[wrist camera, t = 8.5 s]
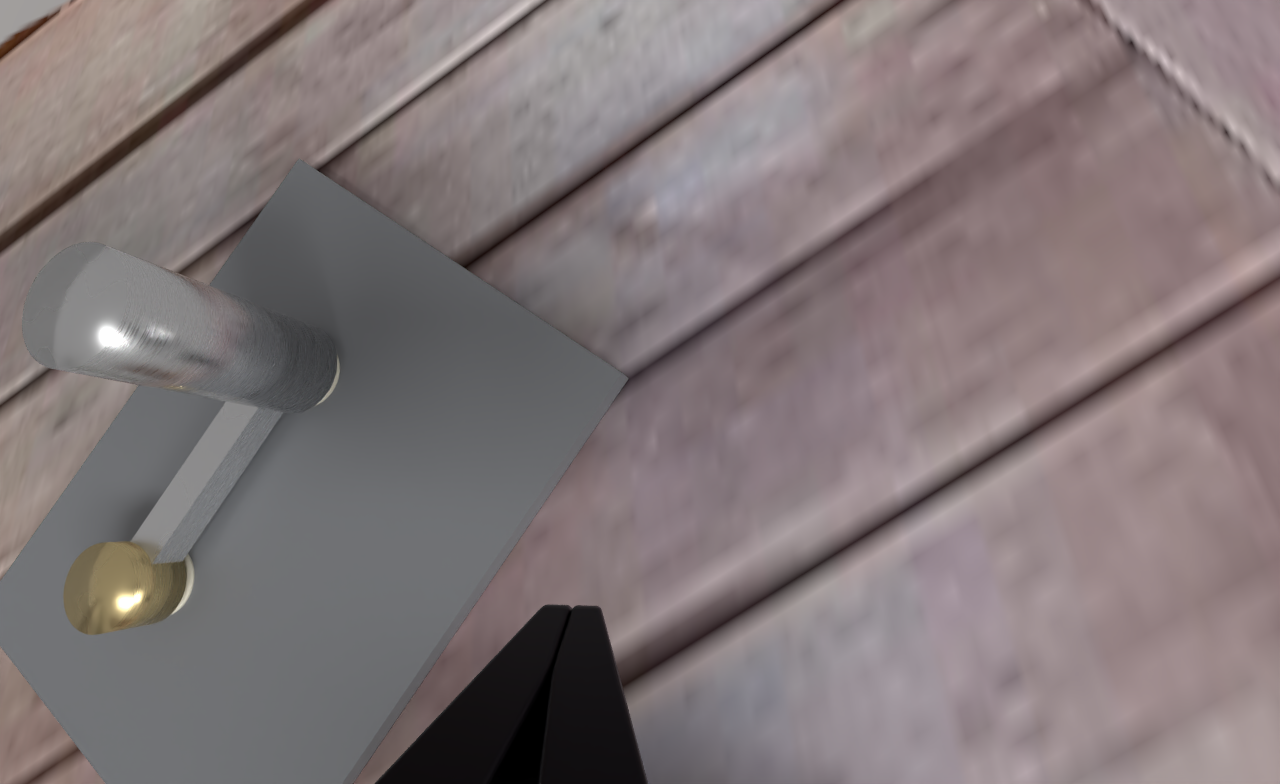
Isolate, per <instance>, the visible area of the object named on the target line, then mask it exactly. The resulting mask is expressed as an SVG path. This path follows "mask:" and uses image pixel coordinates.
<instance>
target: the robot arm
mask: <svg viewBox="0 0 1280 784" xmlns="http://www.w3.org/2000/svg"><path fill="white" fill-rule="evenodd" d="M375 784H648V781H647V777H646V774H645V770H644V766H643V763H642V759H641V755H640V751H639V748H638V744H637V740H636V736H635V733H634V729H633V725H632V721H631V718H630V714H629V710H628V706H627V703H626V699H625V695H624V691H623V688H622V684H621V680H620V677H619V673H618V669H617V665H616V662H615V658H614V654H613V650H612V647H611V643H610V639H609V635H608V632H607V628H606V624H605V620H604V617H603V613H602V610H601V608H600V607H599V606H581V605H577V606H575V607H574V608H573V609H572V608H571V607H570V606H569V605H545V606H543V607H542V608H541V609H540V610H539V611H538V612H537V613H536V614H535V615H534V616H533V617H532V618H531V619H530V620H529V621H528V622H527V623H526V624H525V625H524V627H523V628H522V629H521V630H520V631H519V632H518V633H517V634H516V635H515V636H514V637H513V638H512V639H511V640H510V641H509V642H508V643H507V644H506V646H505V647H504V648H503V649H502V650H501V651H500V652H499V653H498V654H497V655H496V656H495V657H494V658H493V659H492V660H491V661H490V662H489V663H488V665H487V666H486V667H485V668H484V669H483V670H482V671H481V672H480V673H479V674H478V675H477V676H476V677H475V678H474V679H473V680H472V681H471V682H470V684H469V685H468V686H467V687H466V688H465V689H464V690H463V691H462V692H461V693H460V694H459V695H458V696H457V697H456V698H455V699H454V700H453V701H452V703H451V704H450V705H449V706H448V707H447V708H446V709H445V710H444V711H443V712H442V713H441V714H440V715H439V716H438V717H437V718H436V719H435V720H434V722H433V723H432V724H431V725H430V726H429V727H428V728H427V729H426V730H425V731H424V732H423V733H422V734H421V735H420V736H419V737H418V738H417V739H416V741H415V742H414V743H413V744H412V745H411V746H410V747H409V748H408V749H407V750H406V751H405V752H404V753H403V754H402V755H401V756H400V757H399V758H398V760H397V761H396V762H395V763H394V764H393V765H392V766H391V767H390V768H389V769H388V770H387V771H386V772H385V773H384V774H383V775H382V776H381V777H380V779H379V780H378V781H377V782H376V783H375Z"/></svg>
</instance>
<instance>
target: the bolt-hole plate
mask: <svg viewBox="0 0 1280 784" xmlns="http://www.w3.org/2000/svg"><path fill="white" fill-rule="evenodd" d="M209 286H212V287H214V288H217V289H220V290H222V291H225V292H227V293H230V294H233V295H235V296H238V297H240V298H243V299H245V300H248V301H251V302H253V303H256V304H258V305H261V306H263V307H266V308H269V309H271V310H274V311H276V312H279V313H282V314H284V315H287V316H289V317H292V318H294V319H297V320H300V321H302V322H305V323H307V324H310V325H312V326H315V327H317V328H320V329H321V330H323V331H324V332H325V333H326V334H327V335H328V336H329V337H330V338H331V340H332V342H333V344H334V346H335V349H336V352H337V371H336V375H335V378H334V381H333V384H332V386H331V388H330V389H329V391H328V393H327V394H326V395H325V397H324V398H323V399H322V400H321V401H320V402H319V403H317V404H316V405H315V406H313V407H312V408H310V409H308V410H306V411H303V412H300V413H283V414H282V415H281V417H280V418H279V420H278V421H277V423H276V424H275V426H274V427H273V429H272V430H271V432H270V433H269V435H268V436H267V437H266V439H265V440H264V442H263V443H262V445H261V446H260V448H259V449H258V451H257V452H256V454H255V455H254V457H253V458H252V460H251V461H250V463H249V464H248V465H247V467H246V468H245V470H244V471H243V473H242V474H241V476H240V477H239V479H238V480H237V482H236V483H235V485H234V486H233V488H232V489H231V491H230V492H229V493H228V495H227V496H226V498H225V499H224V501H223V502H222V504H221V505H220V507H219V508H218V510H217V511H216V513H215V514H214V516H213V517H212V519H211V520H210V521H209V523H208V524H207V526H206V527H205V529H204V530H203V532H202V533H201V535H200V536H199V538H198V539H197V541H196V542H195V544H194V545H193V547H192V548H191V549H190V551H189V552H188V554H187V555H186V557H185V558H184V561H185V564H186V569H187V581H186V587H185V591H184V594H183V597H182V599H181V601H180V603H179V605H178V606H177V608H176V609H175V610H174V612H173V613H172V614H171V615H170V616H169V617H167V618H166V619H164V620H163V621H161V622H159V623H155V624H151V625H146V626H140V627H135V628H130V629H124V630H119V631H114V632H108V633H103V634H98V635H88V634H84V633H82V632H80V631H78V630H77V629H76V628H75V627H74V626H73V625H72V624H71V623H70V621H69V619H68V617H67V615H66V612H65V608H64V601H63V593H64V585H65V581H66V577H67V575H68V572H69V570H70V568H71V566H72V564H73V563H74V561H75V560H76V559H77V557H78V556H79V555H80V554H81V553H82V552H83V551H84V550H86V549H87V548H89V547H90V546H92V545H94V544H98V543H103V542H121V541H131V540H132V538H133V537H134V536H135V534H136V533H137V531H138V530H139V528H140V527H141V525H142V524H143V522H144V521H145V519H146V518H147V516H148V515H149V514H150V512H151V511H152V509H153V508H154V506H155V505H156V503H157V502H158V500H159V499H160V497H161V496H162V495H163V493H164V492H165V490H166V489H167V487H168V486H169V484H170V483H171V481H172V480H173V478H174V477H175V475H176V474H177V473H178V471H179V470H180V468H181V467H182V465H183V464H184V462H185V461H186V459H187V458H188V456H189V455H190V453H191V452H192V451H193V449H194V448H195V446H196V445H197V443H198V442H199V440H200V439H201V437H202V436H203V434H204V433H205V432H206V430H207V429H208V427H209V426H210V424H211V423H212V421H213V420H214V418H215V417H216V415H217V414H218V412H219V411H220V410H221V408H222V407H223V405H224V404H225V401H220V400H215V399H210V398H204V397H199V396H194V395H188V394H183V393H178V392H173V391H167V390H162V389H157V388H152V387H146V386H141V385H139V386H138V387H137V389H136V390H135V391H134V393H133V394H132V396H131V397H130V398H129V400H128V401H127V403H126V404H125V406H124V407H123V408H122V410H121V411H120V413H119V414H118V415H117V417H116V418H115V420H114V421H113V423H112V424H111V425H110V427H109V428H108V430H107V431H106V432H105V434H104V435H103V437H102V438H101V440H100V441H99V442H98V444H97V445H96V447H95V448H94V449H93V451H92V452H91V454H90V455H89V457H88V458H87V459H86V461H85V462H84V464H83V465H82V466H81V468H80V469H79V471H78V472H77V474H76V475H75V476H74V478H73V479H72V481H71V482H70V483H69V485H68V486H67V488H66V489H65V491H64V492H63V493H62V495H61V496H60V498H59V499H58V500H57V502H56V503H55V505H54V506H53V508H52V509H51V510H50V512H49V513H48V515H47V516H46V517H45V519H44V520H43V522H42V523H41V525H40V526H39V527H38V529H37V530H36V532H35V533H34V534H33V536H32V537H31V539H30V540H29V542H28V543H27V544H26V546H25V547H24V549H23V550H22V551H21V553H20V554H19V556H18V557H17V558H16V560H15V561H14V563H13V564H12V566H11V567H10V568H9V570H8V571H7V573H6V574H5V575H4V577H3V578H2V580H1V581H0V646H1V648H2V649H3V650H4V652H5V653H6V654H7V655H8V657H9V658H10V659H11V661H12V662H13V663H14V665H15V666H16V667H17V668H18V670H19V671H20V672H21V674H22V675H23V676H24V678H25V679H26V680H27V682H28V683H29V684H30V685H31V687H32V688H33V689H34V691H35V692H36V693H37V695H38V696H39V697H40V699H41V700H42V701H43V702H44V704H45V705H46V706H47V708H48V709H49V710H50V712H51V713H52V714H53V715H54V717H55V718H56V719H57V721H58V722H59V723H60V725H61V726H62V727H63V729H64V730H65V731H66V732H67V734H68V735H69V736H70V738H71V739H72V740H73V742H74V743H75V744H76V745H77V747H78V748H79V749H80V751H81V752H82V753H83V755H84V756H85V757H86V759H87V760H88V761H89V762H90V764H91V765H92V766H93V768H94V769H95V770H96V772H97V773H98V774H99V776H100V777H101V778H102V779H103V781H104V782H105V783H106V784H353V783H354V781H355V780H356V778H357V777H358V776H359V774H360V773H361V771H362V770H363V768H364V767H365V765H366V764H367V762H368V761H369V759H370V758H371V756H372V755H373V753H374V752H375V751H376V749H377V748H378V746H379V745H380V743H381V742H382V740H383V739H384V737H385V736H386V734H387V733H388V731H389V730H390V728H391V727H392V726H393V724H394V723H395V721H396V720H397V718H398V717H399V715H400V714H401V712H402V711H403V709H404V708H405V706H406V705H407V704H408V702H409V701H410V699H411V698H412V696H413V695H414V693H415V692H416V690H417V689H418V687H419V686H420V684H421V683H422V681H423V680H424V679H425V677H426V676H427V674H428V673H429V671H430V670H431V668H432V667H433V665H434V664H435V662H436V661H437V659H438V658H439V656H440V655H441V654H442V652H443V651H444V649H445V648H446V646H447V645H448V643H449V642H450V640H451V639H452V637H453V636H454V634H455V633H456V632H457V630H458V629H459V627H460V626H461V624H462V623H463V621H464V620H465V618H466V617H467V615H468V614H469V612H470V611H471V609H472V608H473V607H474V605H475V604H476V602H477V601H478V599H479V598H480V596H481V595H482V593H483V592H484V590H485V589H486V587H487V586H488V584H489V583H490V582H491V580H492V579H493V577H494V576H495V574H496V573H497V571H498V570H499V568H500V567H501V565H502V564H503V562H504V561H505V560H506V558H507V557H508V555H509V554H510V552H511V551H512V549H513V548H514V546H515V545H516V543H517V542H518V540H519V539H520V537H521V536H522V535H523V533H524V532H525V530H526V529H527V527H528V526H529V524H530V523H531V521H532V520H533V518H534V517H535V515H536V514H537V513H538V511H539V510H540V508H541V507H542V505H543V504H544V502H545V501H546V499H547V498H548V496H549V495H550V493H551V492H552V490H553V489H554V488H555V486H556V485H557V483H558V482H559V480H560V479H561V477H562V476H563V474H564V473H565V471H566V470H567V468H568V467H569V465H570V464H571V463H572V461H573V460H574V458H575V457H576V455H577V454H578V452H579V451H580V449H581V448H582V446H583V445H584V443H585V442H586V441H587V439H588V438H589V436H590V435H591V433H592V432H593V430H594V429H595V427H596V426H597V424H598V423H599V421H600V420H601V418H602V417H603V416H604V414H605V413H606V411H607V410H608V408H609V407H610V405H611V404H612V402H613V401H614V399H615V398H616V396H617V395H618V393H619V392H620V391H621V389H622V388H623V386H624V385H625V383H626V382H627V380H628V379H629V378H628V377H626V376H625V375H624V374H623V373H622V372H620V371H619V370H617V369H616V368H614V367H613V366H611V365H610V364H608V363H607V362H605V361H604V360H602V359H600V358H599V357H597V356H596V355H594V354H593V353H591V352H590V351H588V350H587V349H585V348H584V347H582V346H581V345H579V344H578V343H576V342H575V341H573V340H572V339H570V338H569V337H567V336H566V335H564V334H563V333H561V332H560V331H558V330H557V329H555V328H554V327H552V326H551V325H549V324H548V323H546V322H545V321H543V320H542V319H540V318H539V317H537V316H536V315H534V314H533V313H531V312H530V311H528V310H527V309H525V308H524V307H522V306H521V305H519V304H518V303H516V302H515V301H513V300H512V299H510V298H509V297H507V296H506V295H504V294H503V293H501V292H500V291H498V290H497V289H495V288H494V287H492V286H491V285H489V284H488V283H486V282H484V281H483V280H481V279H480V278H478V277H477V276H475V275H474V274H472V273H471V272H469V271H468V270H466V269H465V268H463V267H462V266H460V265H459V264H457V263H456V262H454V261H453V260H451V259H450V258H448V257H447V256H445V255H444V254H442V253H441V252H439V251H438V250H436V249H435V248H433V247H432V246H430V245H429V244H427V243H426V242H424V241H423V240H421V239H420V238H418V237H417V236H415V235H414V234H412V233H411V232H409V231H408V230H406V229H405V228H403V227H402V226H400V225H399V224H397V223H396V222H394V221H393V220H391V219H390V218H388V217H387V216H385V215H384V214H382V213H381V212H379V211H378V210H376V209H375V208H373V207H372V206H370V205H369V204H367V203H365V202H364V201H362V200H361V199H359V198H358V197H356V196H355V195H353V194H352V193H350V192H349V191H347V190H346V189H344V188H343V187H341V186H340V185H338V184H337V183H335V182H334V181H332V180H331V179H329V178H328V177H326V176H325V175H323V174H322V173H320V172H319V171H317V170H316V169H314V168H313V167H311V166H310V165H308V164H307V163H305V162H304V161H302V160H301V159H298V161H297V162H296V163H295V165H294V166H293V168H292V169H291V170H290V172H289V173H288V175H287V176H286V178H285V179H284V180H283V182H282V183H281V185H280V186H279V187H278V189H277V190H276V192H275V193H274V195H273V196H272V197H271V199H270V200H269V202H268V203H267V204H266V206H265V207H264V209H263V210H262V212H261V213H260V214H259V216H258V217H257V219H256V220H255V221H254V223H253V224H252V226H251V227H250V229H249V230H248V231H247V233H246V234H245V236H244V237H243V238H242V240H241V241H240V243H239V244H238V246H237V247H236V248H235V250H234V251H233V253H232V254H231V255H230V257H229V258H228V260H227V261H226V263H225V264H224V265H223V267H222V268H221V270H220V271H219V272H218V274H217V275H216V277H215V278H214V280H213V281H212V282H211V284H210V285H209Z"/></svg>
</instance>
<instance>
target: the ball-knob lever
mask: <svg viewBox="0 0 1280 784" xmlns="http://www.w3.org/2000/svg"><path fill="white" fill-rule="evenodd" d="M22 331H23V337H24V341H25V344H26V347H27V349H28V351H29V352H30V354H31V355H32V357H33V358H34V359H35V360H36V361H37V362H39V363H40V364H42V365H44V366H45V367H48V368H52V369H57V370H62V371H67V372H73V373H78V374H83V375H89V376H94V377H99V378H104V379H110V380H115V381H120V382H125V383H131V384H136V385H141V386H146V387H152V388H157V389H162V390H167V391H173V392H178V393H183V394H188V395H194V396H199V397H204V398H210V399H215V400H220V401H225V404H224V405H223V407H222V408H221V410H220V411H219V412H218V414H217V415H216V417H215V418H214V420H213V421H212V423H211V424H210V426H209V427H208V429H207V430H206V432H205V433H204V434H203V436H202V437H201V439H200V440H199V442H198V443H197V445H196V446H195V448H194V449H193V451H192V452H191V453H190V455H189V456H188V458H187V459H186V461H185V462H184V464H183V465H182V467H181V468H180V470H179V471H178V473H177V474H176V475H175V477H174V478H173V480H172V481H171V483H170V484H169V486H168V487H167V489H166V490H165V492H164V493H163V495H162V496H161V497H160V499H159V500H158V502H157V503H156V505H155V506H154V508H153V509H152V511H151V512H150V514H149V515H148V516H147V518H146V519H145V521H144V522H143V524H142V525H141V527H140V528H139V530H138V531H137V533H136V534H135V536H134V537H133V538H132V540H131V541H121V542H103V543H98V544H94V545H92V546H90V547H89V548H87V549H86V550H84V551H83V552H82V553H81V554H80V555H79V556H78V557H77V559H76V560H75V561H74V563H73V564H72V566H71V568H70V570H69V572H68V575H67V577H66V581H65V585H64V593H63V601H64V608H65V612H66V615H67V617H68V619H69V621H70V623H71V624H72V625H73V626H74V627H75V628H76V629H77V630H78V631H80V632H82V633H84V634H88V635H98V634H103V633H108V632H114V631H119V630H124V629H130V628H135V627H140V626H146V625H151V624H155V623H159V622H161V621H163V620H164V619H166V618H167V617H169V616H170V615H171V614H172V613H173V612H174V610H175V609H176V608H177V606H178V605H179V603H180V601H181V599H182V597H183V594H184V591H185V587H186V581H187V569H186V564H185V561H184V558H185V557H186V555H187V554H188V552H189V551H190V549H191V548H192V547H193V545H194V544H195V542H196V541H197V539H198V538H199V536H200V535H201V533H202V532H203V530H204V529H205V527H206V526H207V524H208V523H209V521H210V520H211V519H212V517H213V516H214V514H215V513H216V511H217V510H218V508H219V507H220V505H221V504H222V502H223V501H224V499H225V498H226V496H227V495H228V493H229V492H230V491H231V489H232V488H233V486H234V485H235V483H236V482H237V480H238V479H239V477H240V476H241V474H242V473H243V471H244V470H245V468H246V467H247V465H248V464H249V463H250V461H251V460H252V458H253V457H254V455H255V454H256V452H257V451H258V449H259V448H260V446H261V445H262V443H263V442H264V440H265V439H266V437H267V436H268V435H269V433H270V432H271V430H272V429H273V427H274V426H275V424H276V423H277V421H278V420H279V418H280V417H281V415H282V414H283V413H300V412H303V411H306V410H308V409H310V408H312V407H313V406H315V405H316V404H317V403H319V402H320V401H321V400H322V399H323V398H324V397H325V395H326V394H327V393H328V391H329V389H330V388H331V386H332V384H333V381H334V378H335V375H336V371H337V352H336V349H335V346H334V344H333V342H332V340H331V338H330V337H329V336H328V335H327V334H326V333H325V332H324V331H323V330H321V329H320V328H317V327H315V326H312V325H310V324H307V323H305V322H302V321H300V320H297V319H294V318H292V317H289V316H287V315H284V314H282V313H279V312H276V311H274V310H271V309H269V308H266V307H263V306H261V305H258V304H256V303H253V302H251V301H248V300H245V299H243V298H240V297H238V296H235V295H233V294H230V293H227V292H225V291H222V290H220V289H217V288H214V287H212V286H209V285H207V284H204V283H202V282H199V281H196V280H194V279H191V278H189V277H186V276H184V275H181V274H178V273H176V272H173V271H171V270H168V269H165V268H163V267H160V266H158V265H155V264H153V263H150V262H147V261H145V260H142V259H140V258H137V257H135V256H132V255H129V254H127V253H124V252H122V251H119V250H116V249H114V248H111V247H109V246H106V245H104V244H101V243H96V242H83V243H79V244H75V245H73V246H70V247H68V248H66V249H64V250H63V251H61V252H60V253H58V254H57V255H56V256H54V257H53V258H52V259H51V260H50V261H49V262H48V263H47V264H46V265H45V266H44V268H43V269H42V270H41V271H40V273H39V274H38V276H37V277H36V279H35V280H34V282H33V284H32V286H31V288H30V290H29V293H28V295H27V298H26V302H25V305H24V310H23V317H22Z"/></svg>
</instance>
